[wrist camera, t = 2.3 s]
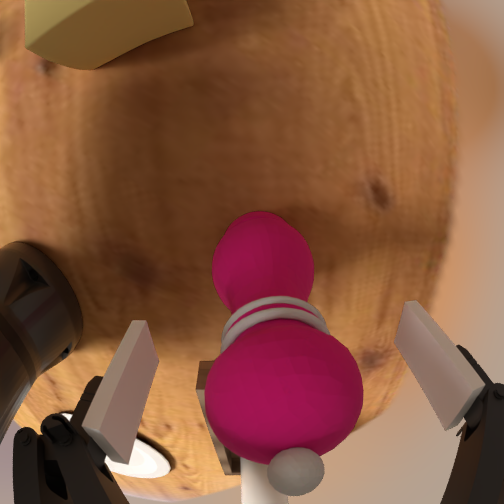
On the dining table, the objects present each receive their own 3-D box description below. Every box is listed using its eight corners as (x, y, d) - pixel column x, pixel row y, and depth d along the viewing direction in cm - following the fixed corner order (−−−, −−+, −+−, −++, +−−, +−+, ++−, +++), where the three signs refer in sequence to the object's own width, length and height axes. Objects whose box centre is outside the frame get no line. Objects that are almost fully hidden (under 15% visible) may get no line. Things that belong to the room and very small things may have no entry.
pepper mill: (315, 253, 25) (429, 464, 6) (250, 297, 26) (266, 523, 8) (268, 187, 22) (380, 396, 4) (199, 239, 24) (123, 479, 5)
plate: (31, 396, 34) (28, 402, 32) (148, 420, 34) (146, 428, 33) (86, 460, 43) (85, 465, 42) (184, 478, 44) (184, 484, 42)
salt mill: (241, 452, 36) (245, 563, 17) (238, 435, 34) (241, 562, 15) (280, 450, 36) (293, 559, 17) (280, 432, 34) (297, 558, 15)
